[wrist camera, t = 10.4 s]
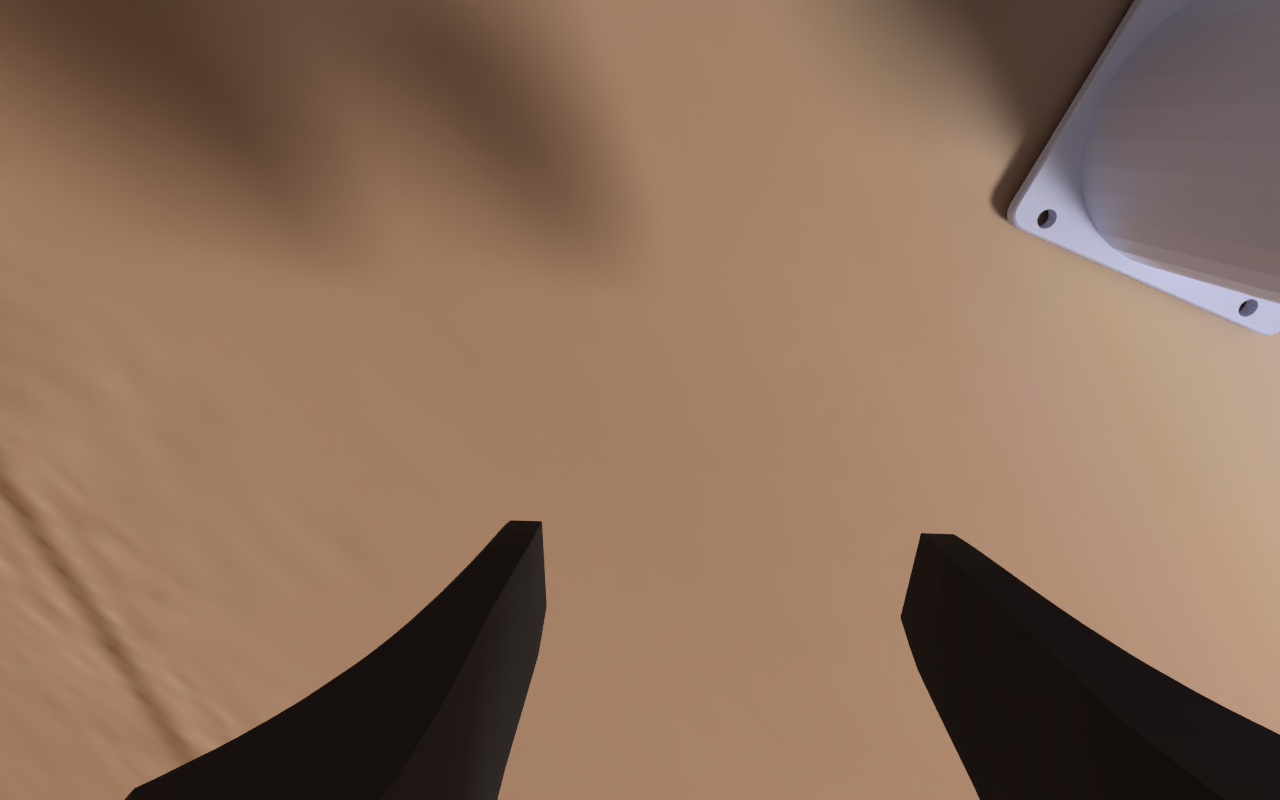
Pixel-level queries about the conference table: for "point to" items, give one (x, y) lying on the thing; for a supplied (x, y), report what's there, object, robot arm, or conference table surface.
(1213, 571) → the conference table surface
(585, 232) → the conference table surface
